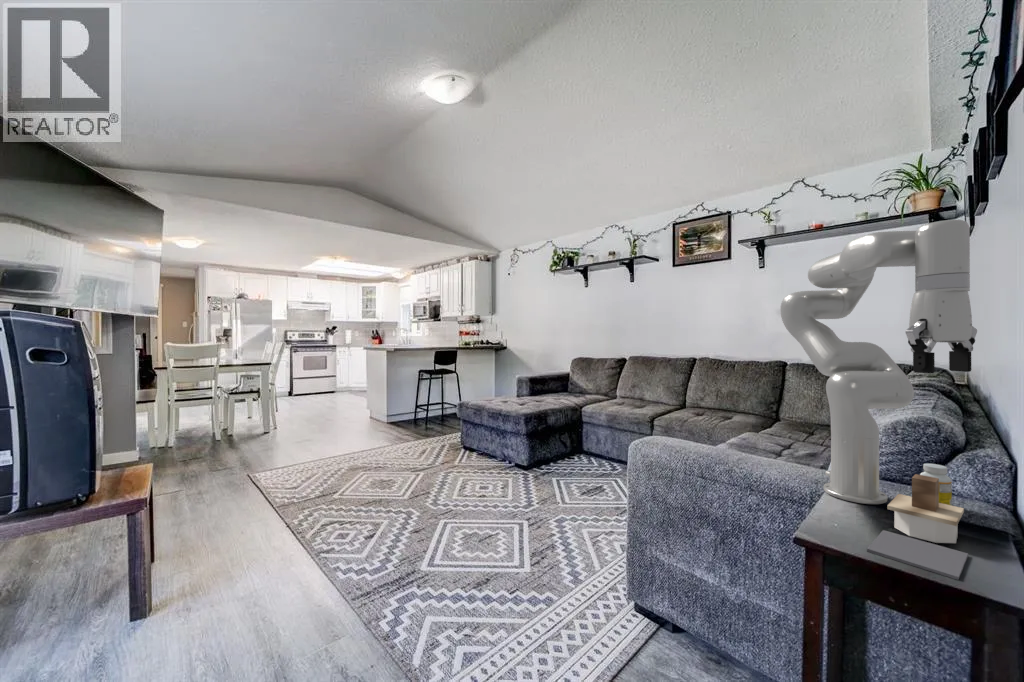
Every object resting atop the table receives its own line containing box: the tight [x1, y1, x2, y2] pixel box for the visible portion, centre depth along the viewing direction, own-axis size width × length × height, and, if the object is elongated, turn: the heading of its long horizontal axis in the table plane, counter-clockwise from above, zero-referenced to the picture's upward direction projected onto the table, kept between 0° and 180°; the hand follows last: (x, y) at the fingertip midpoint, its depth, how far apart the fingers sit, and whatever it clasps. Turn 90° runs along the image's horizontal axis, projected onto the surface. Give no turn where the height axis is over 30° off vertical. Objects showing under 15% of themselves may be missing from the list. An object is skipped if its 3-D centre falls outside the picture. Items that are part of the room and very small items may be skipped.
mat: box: [866, 529, 969, 581], centre depth 79 cm, size 12×12×1 cm
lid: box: [886, 473, 965, 526], centre depth 87 cm, size 10×10×7 cm
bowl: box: [893, 511, 959, 544], centre depth 87 cm, size 9×9×4 cm
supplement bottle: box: [919, 462, 953, 506], centre depth 100 cm, size 5×5×10 cm
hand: (942, 371), depth 83 cm, fingers open, 9 cm apart
